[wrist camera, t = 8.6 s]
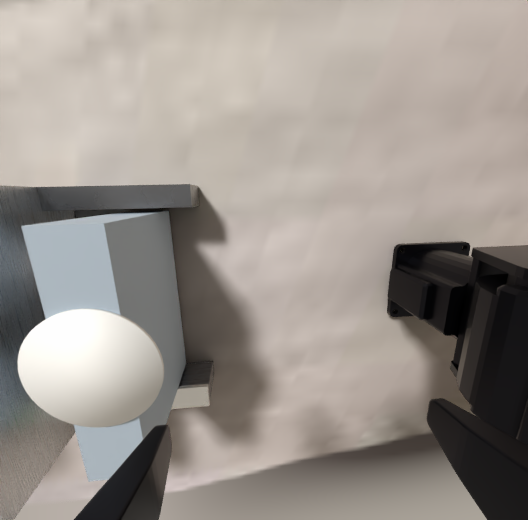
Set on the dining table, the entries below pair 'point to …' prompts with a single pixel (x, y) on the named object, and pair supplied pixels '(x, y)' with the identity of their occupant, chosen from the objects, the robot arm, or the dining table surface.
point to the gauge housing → (31, 314)
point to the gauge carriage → (105, 330)
